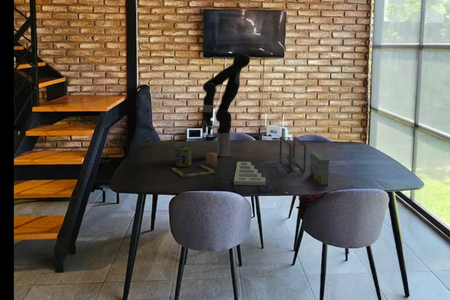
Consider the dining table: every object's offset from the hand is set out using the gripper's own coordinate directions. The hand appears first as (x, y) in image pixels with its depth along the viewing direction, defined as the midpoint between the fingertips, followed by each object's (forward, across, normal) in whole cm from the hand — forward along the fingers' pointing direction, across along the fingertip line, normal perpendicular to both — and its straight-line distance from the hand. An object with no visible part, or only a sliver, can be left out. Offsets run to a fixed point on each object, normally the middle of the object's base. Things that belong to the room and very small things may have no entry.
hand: (206, 133), depth 315 cm
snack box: (+15, -80, -40) cm, 90 cm away
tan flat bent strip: (+19, -32, +21) cm, 43 cm away
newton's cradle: (+15, -47, -42) cm, 65 cm away
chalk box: (+19, -14, +21) cm, 32 cm away
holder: (+17, -52, -9) cm, 55 cm away
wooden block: (+18, -22, +4) cm, 28 cm away
